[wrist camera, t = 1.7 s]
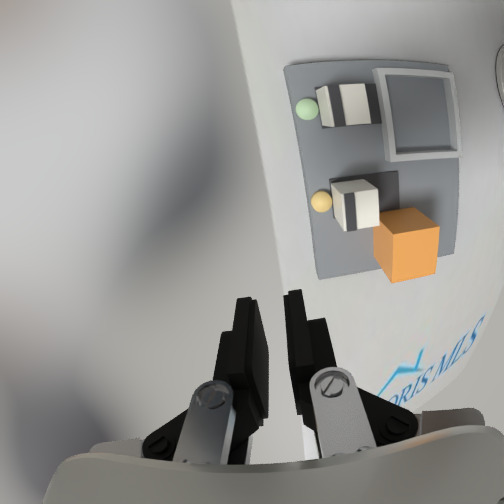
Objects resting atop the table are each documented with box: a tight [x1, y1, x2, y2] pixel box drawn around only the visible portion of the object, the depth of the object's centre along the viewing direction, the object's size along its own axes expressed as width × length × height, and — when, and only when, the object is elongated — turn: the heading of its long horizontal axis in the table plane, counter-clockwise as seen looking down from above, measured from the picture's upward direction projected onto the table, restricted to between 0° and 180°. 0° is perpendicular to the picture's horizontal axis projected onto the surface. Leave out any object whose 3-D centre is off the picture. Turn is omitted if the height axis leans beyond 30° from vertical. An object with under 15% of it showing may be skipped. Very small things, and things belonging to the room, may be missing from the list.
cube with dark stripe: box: [331, 179, 380, 232], centre depth 22 cm, size 3×3×4 cm
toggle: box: [316, 84, 371, 127], centre depth 19 cm, size 3×3×4 cm
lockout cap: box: [373, 207, 440, 283], centre depth 23 cm, size 4×4×5 cm
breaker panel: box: [283, 60, 462, 280], centre depth 23 cm, size 20×16×3 cm
